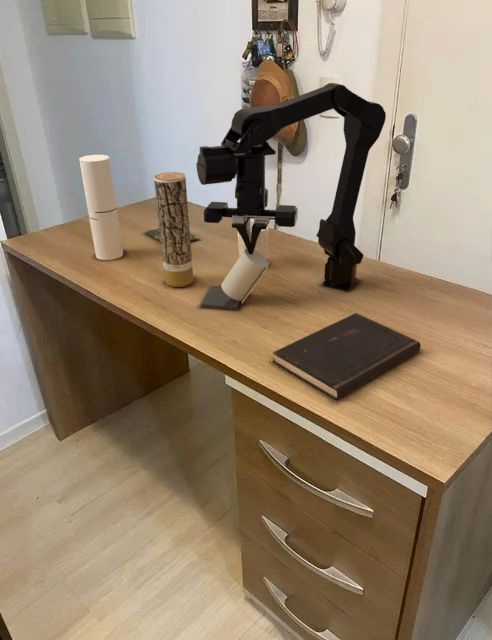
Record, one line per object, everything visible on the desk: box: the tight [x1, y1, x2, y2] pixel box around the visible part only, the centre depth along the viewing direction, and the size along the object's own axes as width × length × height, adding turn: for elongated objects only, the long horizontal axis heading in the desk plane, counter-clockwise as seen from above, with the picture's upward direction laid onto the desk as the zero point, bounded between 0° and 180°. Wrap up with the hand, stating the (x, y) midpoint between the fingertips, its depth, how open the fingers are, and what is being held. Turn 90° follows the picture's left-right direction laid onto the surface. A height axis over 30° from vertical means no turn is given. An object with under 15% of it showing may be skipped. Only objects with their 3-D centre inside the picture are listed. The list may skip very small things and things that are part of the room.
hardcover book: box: [272, 312, 422, 400], centre depth 103 cm, size 16×23×2 cm
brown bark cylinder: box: [153, 171, 194, 288], centre depth 127 cm, size 7×7×25 cm
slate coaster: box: [200, 285, 241, 311], centre depth 125 cm, size 8×10×1 cm
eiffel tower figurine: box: [144, 228, 198, 242], centre depth 156 cm, size 15×10×13 cm
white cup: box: [236, 220, 270, 261], centre depth 139 cm, size 8×8×10 cm
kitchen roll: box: [220, 249, 271, 304], centre depth 121 cm, size 10×6×6 cm
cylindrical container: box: [78, 154, 124, 261], centre depth 142 cm, size 7×7×25 cm
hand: (251, 253), depth 118 cm, fingers closed
